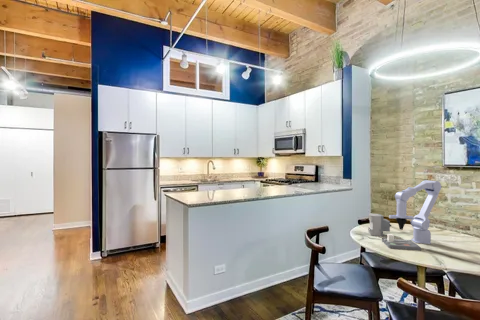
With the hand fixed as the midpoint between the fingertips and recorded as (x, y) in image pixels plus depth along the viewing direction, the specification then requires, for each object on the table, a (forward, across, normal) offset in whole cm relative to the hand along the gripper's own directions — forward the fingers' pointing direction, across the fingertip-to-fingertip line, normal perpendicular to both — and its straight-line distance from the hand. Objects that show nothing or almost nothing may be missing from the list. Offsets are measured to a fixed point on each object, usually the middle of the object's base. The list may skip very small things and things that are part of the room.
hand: (401, 229), depth 175 cm
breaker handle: (+7, -9, -6) cm, 13 cm away
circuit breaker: (+10, -8, +17) cm, 21 cm away
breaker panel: (+9, -2, -6) cm, 11 cm away
